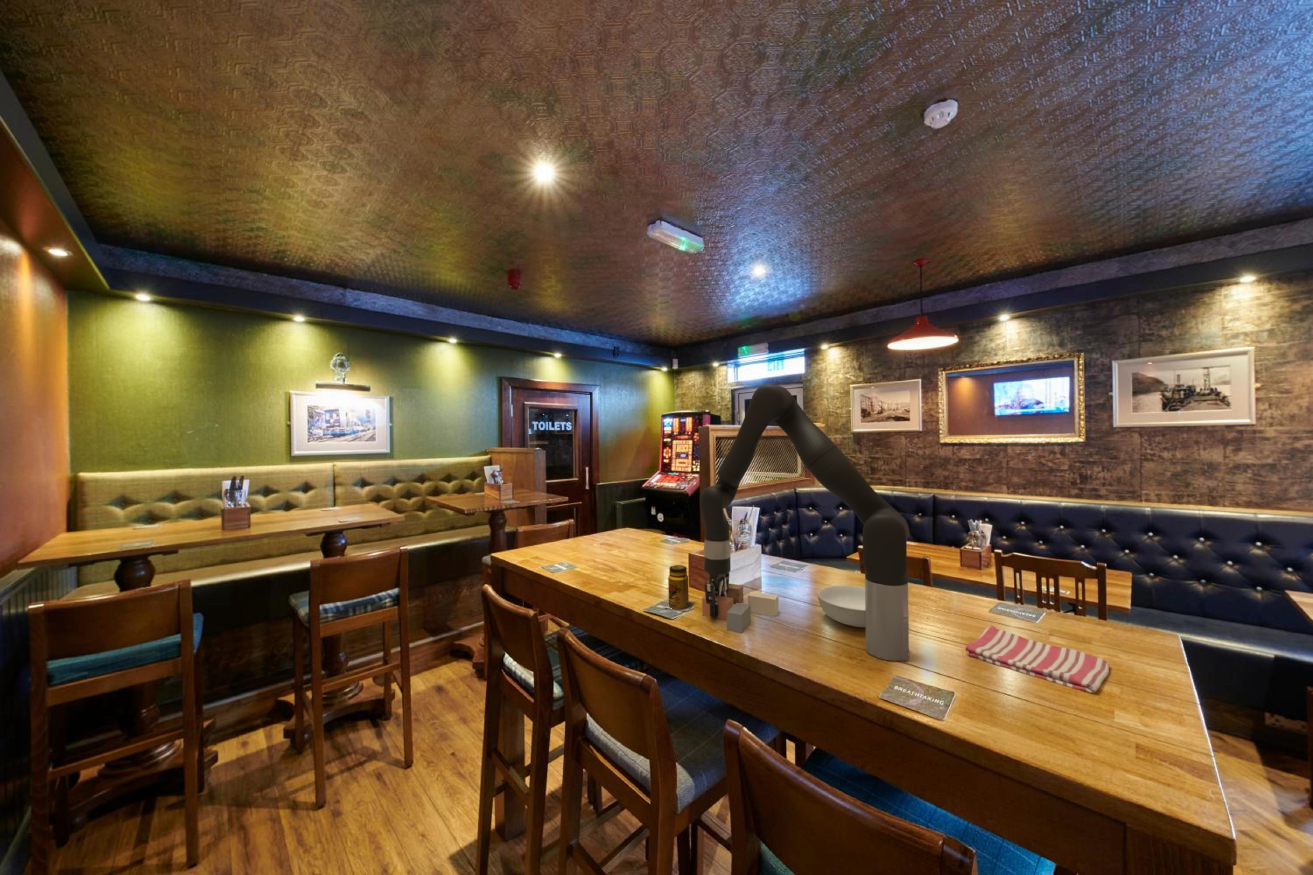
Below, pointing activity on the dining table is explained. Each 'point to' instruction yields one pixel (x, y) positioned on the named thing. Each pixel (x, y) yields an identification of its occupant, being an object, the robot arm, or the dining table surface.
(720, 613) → the terracotta brick
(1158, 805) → the dining table surface
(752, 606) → the cream brick
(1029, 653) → the dish towel
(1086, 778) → the dining table surface
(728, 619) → the slate brick
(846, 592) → the serving bowl
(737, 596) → the walnut brick
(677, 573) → the condiment
